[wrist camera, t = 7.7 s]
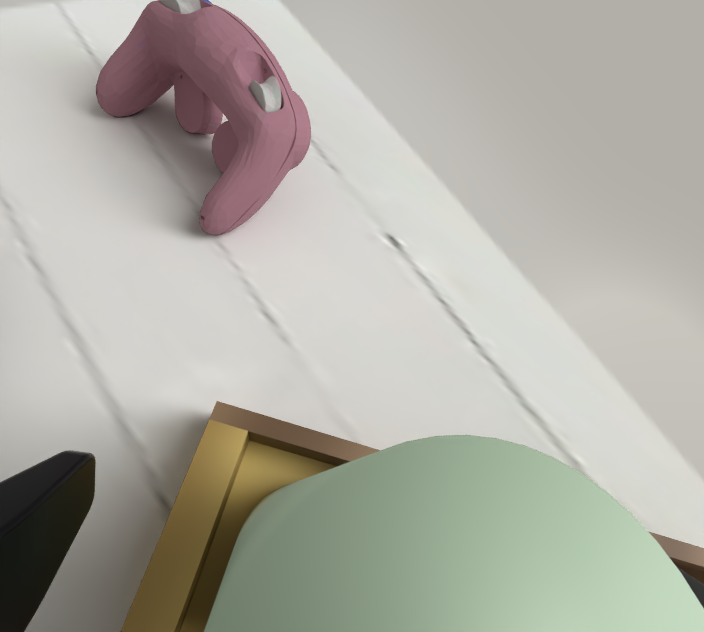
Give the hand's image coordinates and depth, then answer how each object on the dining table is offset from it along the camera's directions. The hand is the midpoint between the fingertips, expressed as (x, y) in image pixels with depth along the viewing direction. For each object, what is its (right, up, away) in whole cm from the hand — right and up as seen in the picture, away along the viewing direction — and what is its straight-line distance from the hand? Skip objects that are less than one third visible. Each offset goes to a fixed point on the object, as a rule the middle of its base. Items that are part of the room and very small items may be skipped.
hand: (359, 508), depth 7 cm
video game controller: (-7, +11, +13) cm, 19 cm away
